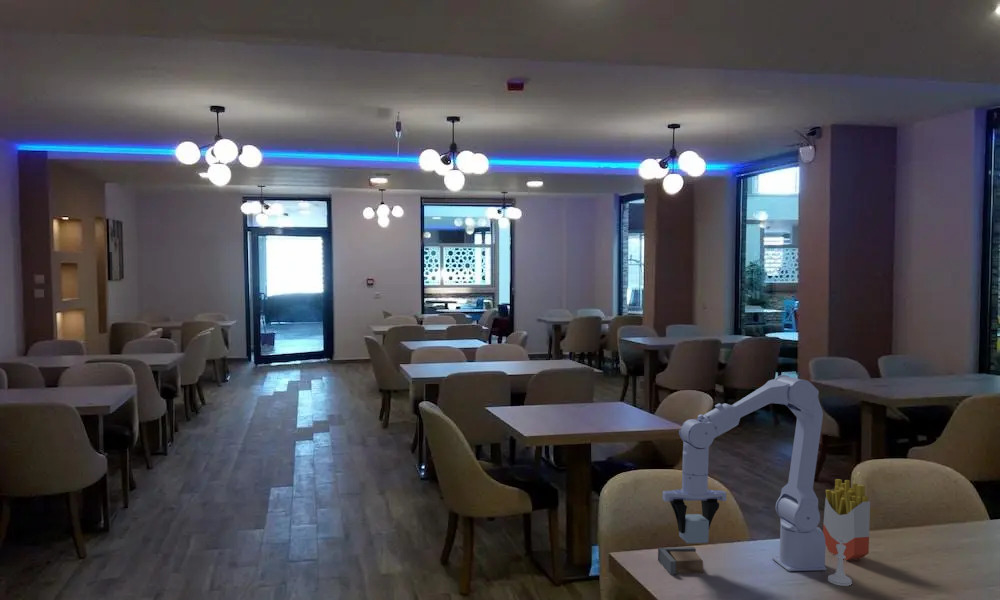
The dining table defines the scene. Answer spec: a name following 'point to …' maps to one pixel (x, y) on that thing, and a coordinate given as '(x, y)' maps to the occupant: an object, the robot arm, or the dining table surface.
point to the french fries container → (847, 519)
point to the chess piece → (840, 567)
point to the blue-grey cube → (695, 529)
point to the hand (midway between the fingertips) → (693, 531)
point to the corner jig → (667, 560)
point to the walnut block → (687, 562)
